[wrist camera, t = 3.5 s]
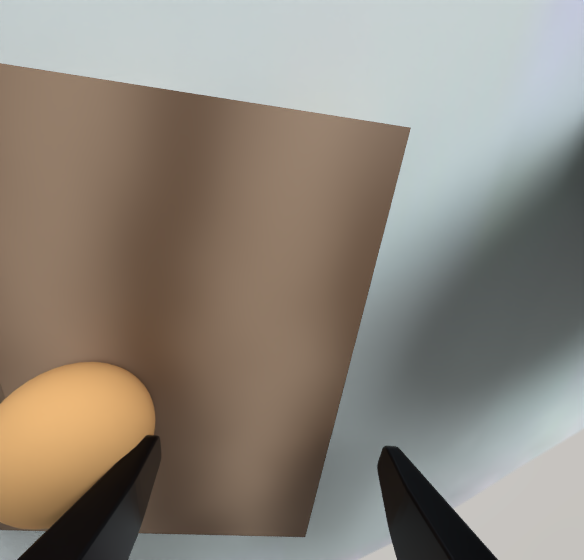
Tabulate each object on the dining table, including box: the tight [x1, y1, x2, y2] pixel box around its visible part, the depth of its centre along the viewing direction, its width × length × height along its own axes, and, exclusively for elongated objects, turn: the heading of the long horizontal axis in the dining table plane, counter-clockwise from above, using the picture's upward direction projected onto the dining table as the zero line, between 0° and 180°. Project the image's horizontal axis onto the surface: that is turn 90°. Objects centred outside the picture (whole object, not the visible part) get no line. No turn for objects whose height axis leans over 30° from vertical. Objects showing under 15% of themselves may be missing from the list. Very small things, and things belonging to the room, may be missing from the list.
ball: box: [0, 362, 155, 530], centre depth 8 cm, size 4×4×4 cm
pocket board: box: [0, 63, 411, 537], centre depth 11 cm, size 21×18×2 cm
